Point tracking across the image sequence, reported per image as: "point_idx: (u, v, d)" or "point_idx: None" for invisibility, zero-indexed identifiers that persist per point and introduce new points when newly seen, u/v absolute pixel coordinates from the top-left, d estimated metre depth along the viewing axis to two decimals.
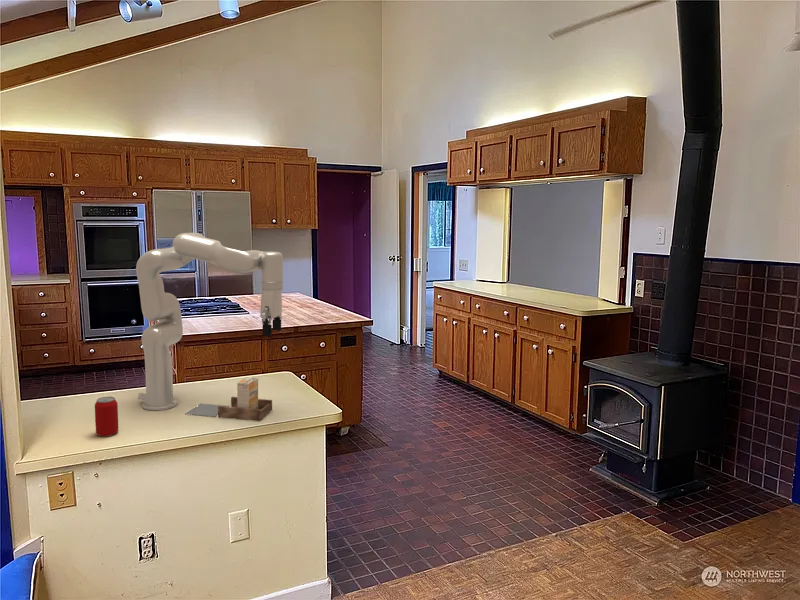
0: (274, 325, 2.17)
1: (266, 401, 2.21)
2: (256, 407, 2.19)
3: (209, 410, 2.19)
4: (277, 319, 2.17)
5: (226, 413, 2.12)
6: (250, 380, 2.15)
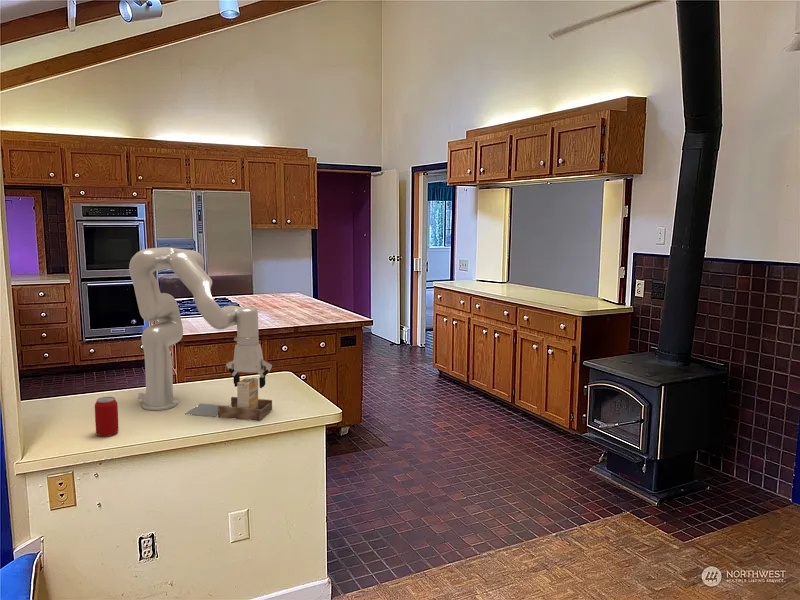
0: (237, 381, 2.16)
1: (266, 401, 2.21)
2: (256, 407, 2.19)
3: (209, 410, 2.19)
4: (237, 374, 2.17)
5: (226, 413, 2.12)
6: (250, 380, 2.15)
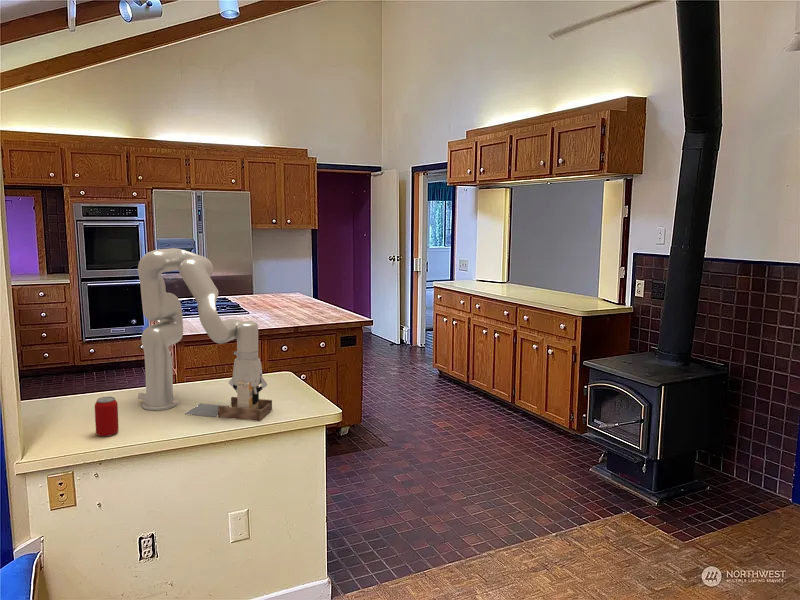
0: None
1: (266, 401, 2.21)
2: (256, 407, 2.19)
3: (209, 410, 2.19)
4: None
5: (226, 413, 2.12)
6: None
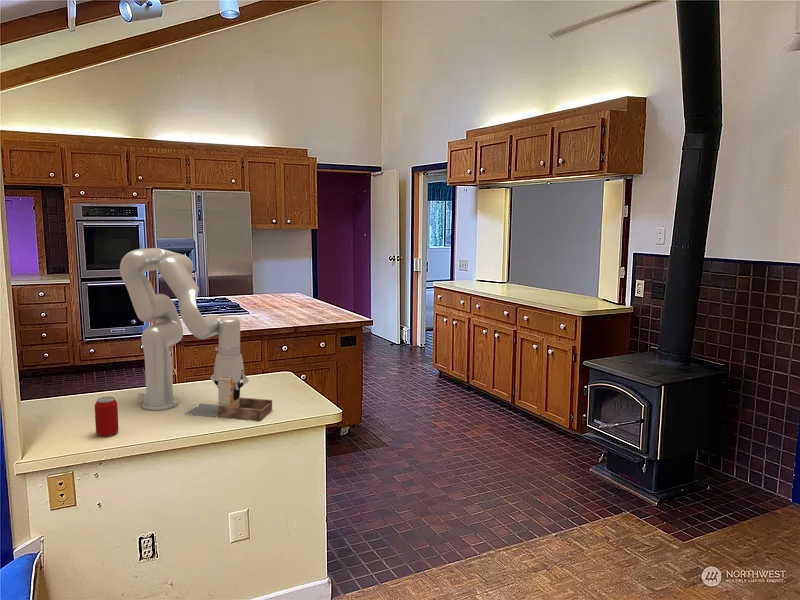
0: None
1: (266, 401, 2.21)
2: (237, 403, 2.20)
3: (209, 410, 2.19)
4: None
5: (226, 413, 2.12)
6: None
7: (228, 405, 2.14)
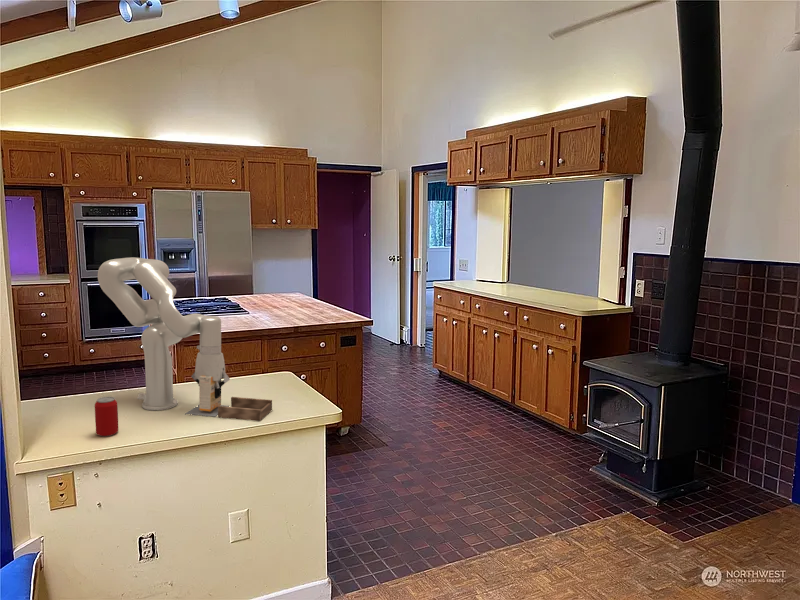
0: None
1: (266, 401, 2.21)
2: (219, 401, 2.21)
3: None
4: None
5: (226, 413, 2.12)
6: None
7: (209, 403, 2.15)
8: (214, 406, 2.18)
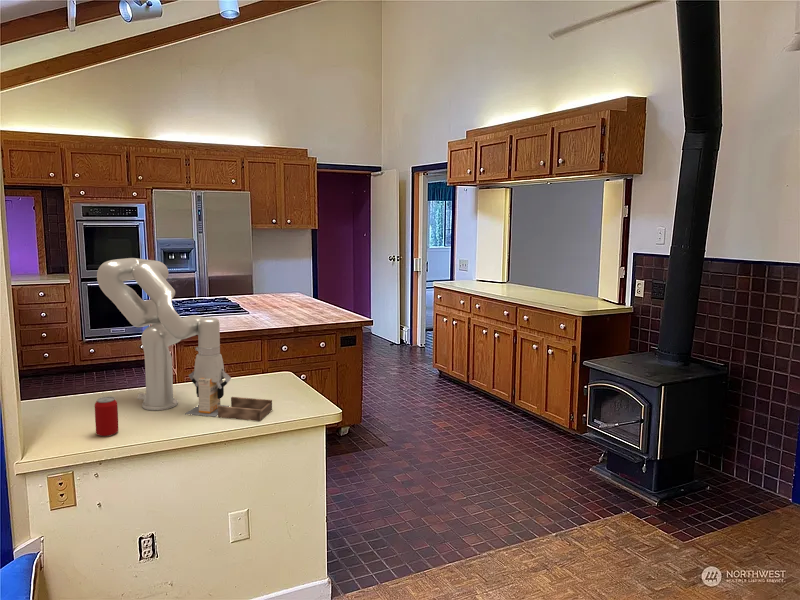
0: None
1: (266, 401, 2.21)
2: (218, 403, 2.21)
3: None
4: None
5: (226, 413, 2.12)
6: None
7: (208, 405, 2.15)
8: (213, 408, 2.18)
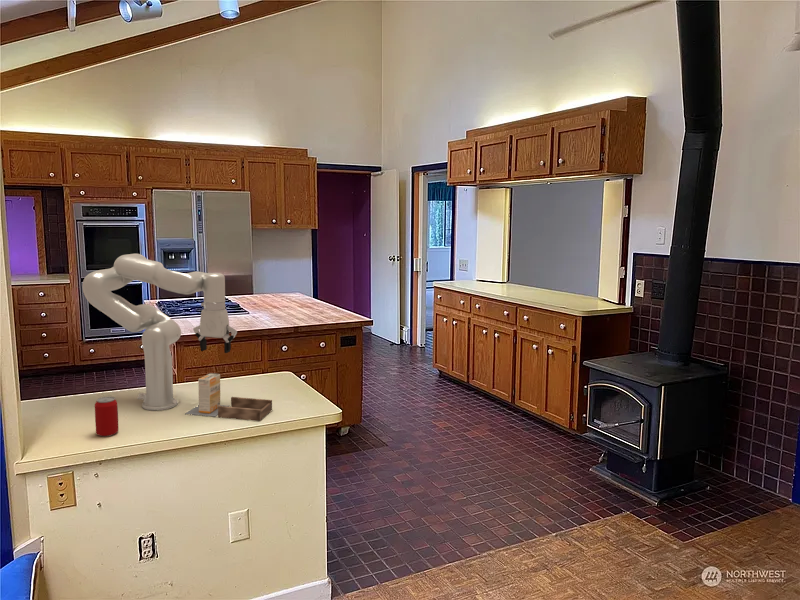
0: (203, 346, 2.19)
1: (266, 401, 2.21)
2: (218, 403, 2.21)
3: None
4: (204, 339, 2.20)
5: (226, 413, 2.12)
6: (211, 377, 2.17)
7: (208, 405, 2.15)
8: (213, 408, 2.18)
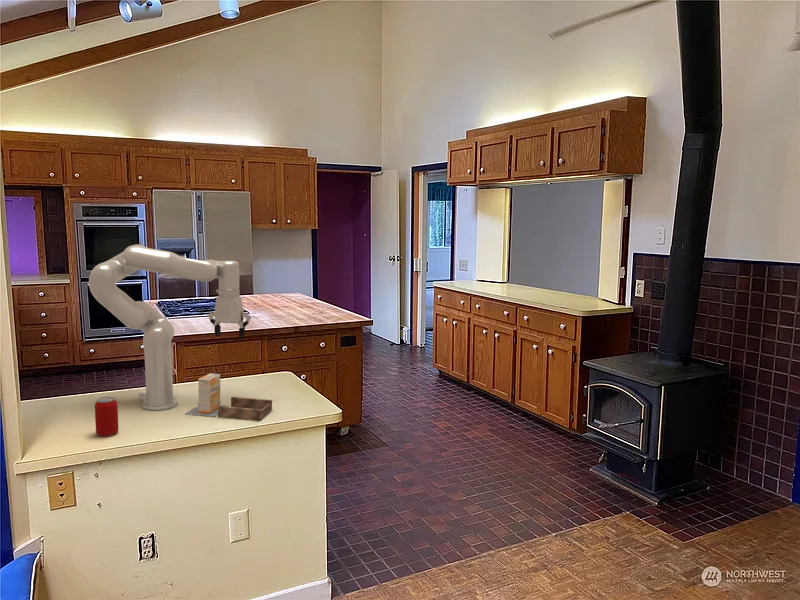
0: (218, 331, 2.26)
1: (266, 401, 2.21)
2: (218, 403, 2.21)
3: None
4: (218, 325, 2.27)
5: (226, 413, 2.12)
6: (211, 377, 2.17)
7: (208, 405, 2.15)
8: (213, 408, 2.18)
